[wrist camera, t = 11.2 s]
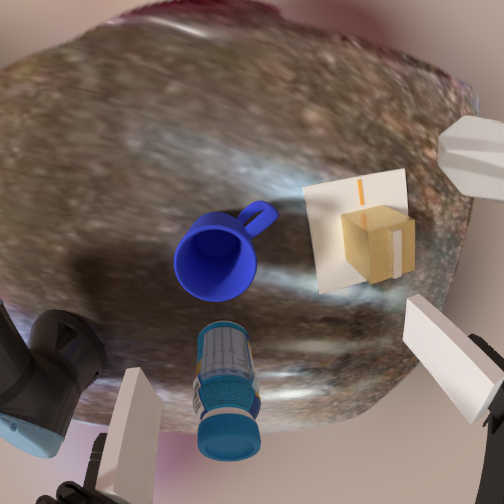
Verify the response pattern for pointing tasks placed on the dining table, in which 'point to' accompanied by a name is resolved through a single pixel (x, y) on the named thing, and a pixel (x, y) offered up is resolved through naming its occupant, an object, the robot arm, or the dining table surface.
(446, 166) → the vase
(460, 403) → the robot arm
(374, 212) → the taped shipping carton
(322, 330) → the dining table surface
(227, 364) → the beverage bottle
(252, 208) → the mug
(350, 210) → the post fixture
